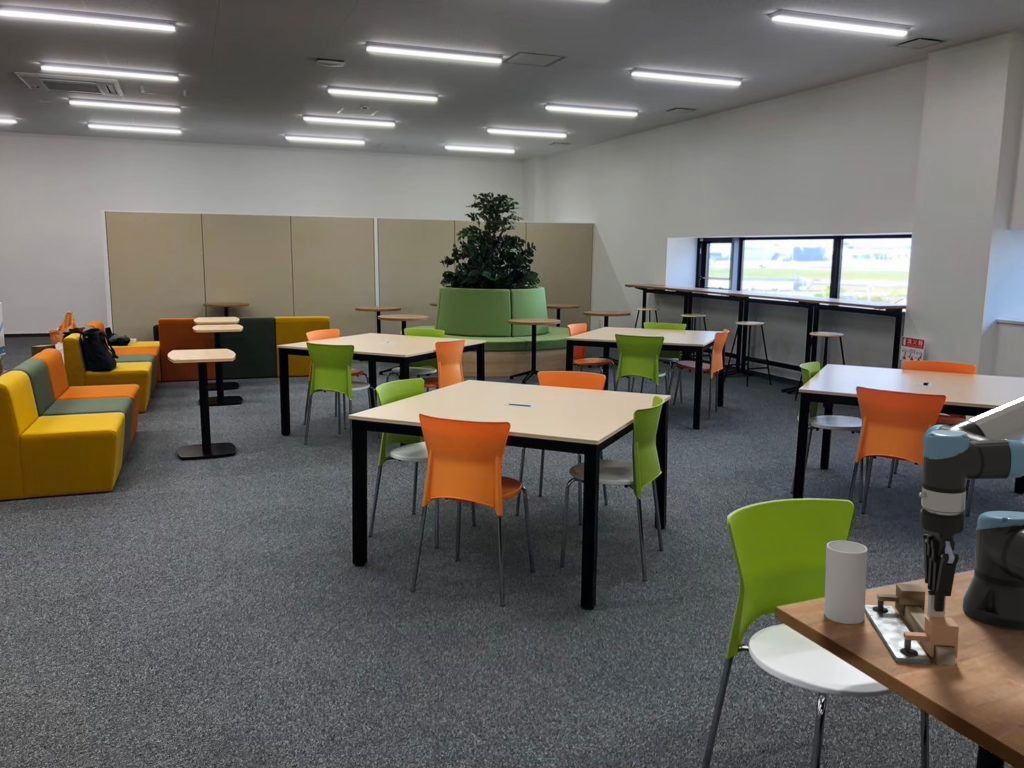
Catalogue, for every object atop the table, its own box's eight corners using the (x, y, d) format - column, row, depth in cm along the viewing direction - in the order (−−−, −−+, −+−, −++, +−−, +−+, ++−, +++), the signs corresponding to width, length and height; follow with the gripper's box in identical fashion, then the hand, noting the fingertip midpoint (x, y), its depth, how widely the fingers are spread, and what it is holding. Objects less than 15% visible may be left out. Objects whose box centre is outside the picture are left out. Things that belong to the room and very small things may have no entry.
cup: (868, 625, 169) (871, 554, 167) (828, 622, 170) (830, 552, 168) (859, 609, 177) (862, 541, 174) (821, 607, 178) (823, 539, 176)
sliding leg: (949, 648, 156) (951, 617, 155) (957, 657, 152) (958, 626, 151) (901, 645, 158) (902, 615, 157) (907, 654, 154) (908, 623, 153)
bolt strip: (891, 610, 176) (891, 605, 176) (929, 664, 152) (929, 658, 151) (862, 608, 177) (863, 603, 177) (896, 662, 153) (896, 656, 152)
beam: (912, 611, 175) (913, 598, 175) (954, 665, 151) (955, 651, 150) (898, 610, 176) (899, 597, 175) (938, 664, 151) (938, 650, 151)
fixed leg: (918, 608, 174) (919, 584, 174) (924, 616, 170) (925, 591, 170) (874, 606, 176) (876, 582, 175) (880, 614, 172) (881, 589, 171)
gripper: (911, 499, 160) (905, 609, 164) (932, 519, 148) (925, 637, 151) (950, 501, 159) (944, 611, 162) (976, 520, 146) (968, 640, 149)
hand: (935, 623), depth 157 cm, fingers closed
